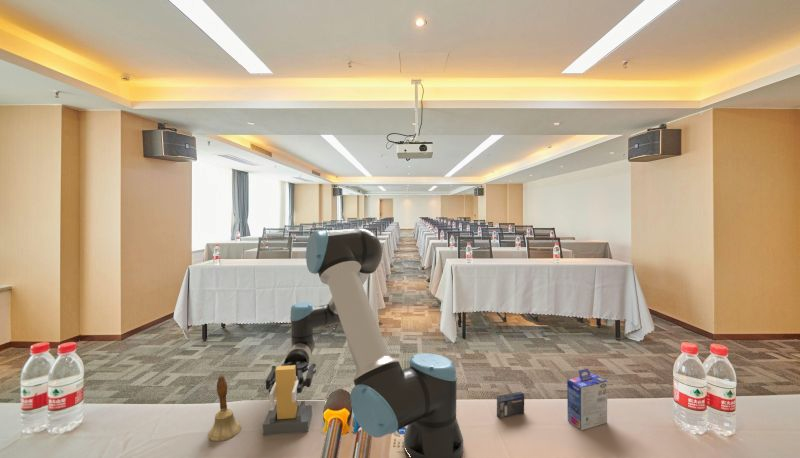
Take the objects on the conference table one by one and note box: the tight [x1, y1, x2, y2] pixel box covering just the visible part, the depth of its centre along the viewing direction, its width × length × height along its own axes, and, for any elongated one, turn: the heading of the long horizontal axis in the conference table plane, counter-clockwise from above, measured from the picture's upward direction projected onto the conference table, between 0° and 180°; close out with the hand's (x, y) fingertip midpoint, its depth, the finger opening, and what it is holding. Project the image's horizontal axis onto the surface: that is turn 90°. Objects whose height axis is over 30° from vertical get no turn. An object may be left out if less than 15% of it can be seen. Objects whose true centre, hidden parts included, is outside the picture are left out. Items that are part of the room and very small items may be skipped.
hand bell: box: [207, 375, 242, 442], centre depth 99 cm, size 8×8×16 cm
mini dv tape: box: [496, 391, 525, 419], centre depth 105 cm, size 8×2×6 cm, turn 106°
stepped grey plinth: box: [262, 400, 313, 436], centre depth 102 cm, size 12×8×4 cm, turn 96°
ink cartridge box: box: [566, 368, 608, 431], centre depth 101 cm, size 10×6×14 cm, turn 110°
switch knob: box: [275, 365, 298, 419], centre depth 100 cm, size 5×2×14 cm, turn 96°
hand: (282, 397), depth 95 cm, fingers closed on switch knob, 5 cm apart
